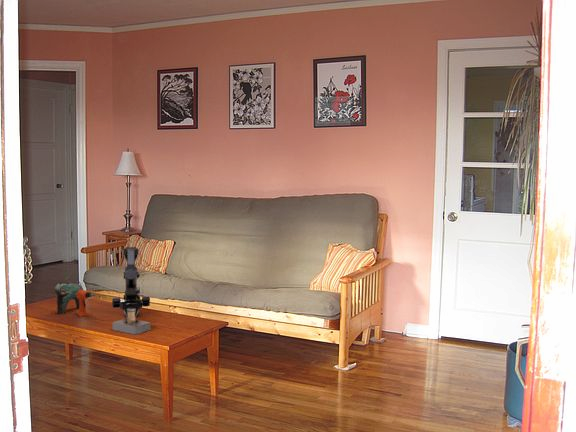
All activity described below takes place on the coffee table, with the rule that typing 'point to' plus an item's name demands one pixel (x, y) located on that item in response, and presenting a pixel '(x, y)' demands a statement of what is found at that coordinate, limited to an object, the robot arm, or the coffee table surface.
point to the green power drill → (66, 295)
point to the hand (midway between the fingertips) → (131, 316)
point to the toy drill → (83, 302)
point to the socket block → (131, 326)
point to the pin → (131, 315)
